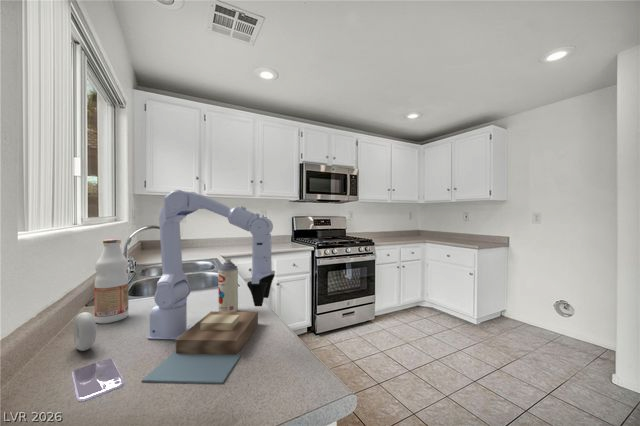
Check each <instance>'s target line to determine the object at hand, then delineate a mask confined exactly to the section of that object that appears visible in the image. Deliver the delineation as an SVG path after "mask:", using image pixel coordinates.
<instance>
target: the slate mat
mask: <svg viewBox="0 0 640 426" xmlns="http://www.w3.org/2000/svg"><path fill="white" fill-rule="evenodd" d="M241 356H242V352H239V353H237V355H229V354H176V351H174V352H172V353H171V354H170V355H168V356H167V358H165V359H164V360H163V361H162V362H161V363H160V364H159V365H157V366H156V367H155V368H154V369H153V370H151V371H150V373H148V374H147V375H146V376H145V377H144V378H142V379H141V383H171V384H172V383H173V384H175V383H176V384H219V385H221V384H222V385H223V384H224V383H225V381H226V380H227V378H228V376H229V375H230V373H231V372H232V371H233V368H234V367H235V366H236V364H237V362H238V361H239V360H240V357H241Z"/></svg>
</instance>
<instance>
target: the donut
mask: <svg viewBox="0 0 640 426" xmlns="http://www.w3.org/2000/svg"><path fill="white" fill-rule="evenodd" d="M96 324H97V323H96V322H95V316H94V315H93V314H92V313H91V312H87V311H83V312H81V313H78V315H77V316H76V317H75V319H74V321H73V327H72V328H73V329H72V330H73V331H72V334H73V336H72V337H73V343H74V345H75V348H76V349H77V350H79V351H81V352H85V351H88V350H89V349H90V348H92V347H93V346H94V344H95V341H96V338H97V325H96Z"/></svg>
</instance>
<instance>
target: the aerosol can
mask: <svg viewBox="0 0 640 426" xmlns="http://www.w3.org/2000/svg"><path fill="white" fill-rule="evenodd" d="M238 270H239V269H238V265H235V263H233V262H232V260H231V258H226V259H225V261H224V263H223V264H221V266H219V267H218V272H217V273H218V276H217V277H218V280H217V281H218V283H217V284H218V290H217V291H218V293H217V294H218V312H239V291H238V290H239V286H238V285H239V280H238V279H239V277H238V276H239V275H238V272H239V271H238Z"/></svg>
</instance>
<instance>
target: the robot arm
mask: <svg viewBox="0 0 640 426" xmlns="http://www.w3.org/2000/svg"><path fill="white" fill-rule="evenodd" d="M198 210H206V211H209V212H212V213H213V214H214V213H215V214H217V215H220V216H221V217H225V218H227V220H228V222H229V224H230V225H233V226H235V227H237V228H239V229H242V230H243V231H246V232H250V234H251V235H252V242H251V244H252V245H251V246H252V247H251V248H252V249H251V251H252V254H251V257H252V258H251V260H252V261H251V262H252V263H251V280H249V281H247V282H246V283H247V285H246V286H247V287H248V289H249V291H250V293H251V298H252V301H253V304H254V305H253V306H254V307H262V306H263V304H264V299H268V298H269V296H270V291H271V288H272V283H273V280H274V278H275V275H276V270H272V234H271V233H272V232H273V229H274V224H273V222H272V221H271V219H269V218H268V217H266V216H261V213H254V212H253V211H249V210H247V207H246V206H243V205H242V206H235V207H230V206H228V205H226V204H224V203H222V202H220V201H219V200H216V199H213V198H211V197H209V196H206V195H204V194H201V193H200V194H199V193H197V192H194V191H191V192H190V191H185V190H181V189H173V190H171V191H170V192H169V193H167V195H165V196H164V197H163V207H162V208H161V211H160V214H159V217H158V222H159V223H158V224H159V238H160V239H159V240H160V253H161V254H160V255H161V272H162V274H161V277H160V278H159V280H158V281H157V282H156V290H155V293H154V295H153V297H154V298H153V299H154V302H155V306H153V308H152V309H151V310H150V313H149V336H147V339H148V340H176V339H177V338H179V337H180V336H181V335H182V334H184V333H185V332H186V331H187V330H189V329H190V328H191V327H192V326H187V325H188V324H187V320H188V319H187V316H188V313H187V309H188V307H187V304H188V303H187V301H188V297H189V296H190V294H191V291H192V287H191V284H190V283H189V281H188V275H187V274H186V273H185V272H184V271H183V257H182V256H183V255H182V241H181V240H182V239H181V236H182V235H181V224H180V223H181V222H182V220H184V219H185V218H186V217H187V216H188V215H190V214H192V213H194V212H196V211H198Z"/></svg>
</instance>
